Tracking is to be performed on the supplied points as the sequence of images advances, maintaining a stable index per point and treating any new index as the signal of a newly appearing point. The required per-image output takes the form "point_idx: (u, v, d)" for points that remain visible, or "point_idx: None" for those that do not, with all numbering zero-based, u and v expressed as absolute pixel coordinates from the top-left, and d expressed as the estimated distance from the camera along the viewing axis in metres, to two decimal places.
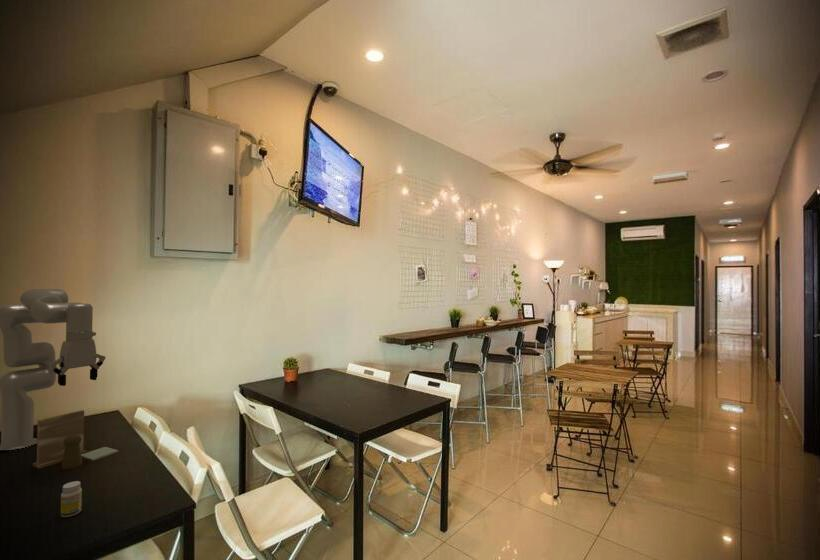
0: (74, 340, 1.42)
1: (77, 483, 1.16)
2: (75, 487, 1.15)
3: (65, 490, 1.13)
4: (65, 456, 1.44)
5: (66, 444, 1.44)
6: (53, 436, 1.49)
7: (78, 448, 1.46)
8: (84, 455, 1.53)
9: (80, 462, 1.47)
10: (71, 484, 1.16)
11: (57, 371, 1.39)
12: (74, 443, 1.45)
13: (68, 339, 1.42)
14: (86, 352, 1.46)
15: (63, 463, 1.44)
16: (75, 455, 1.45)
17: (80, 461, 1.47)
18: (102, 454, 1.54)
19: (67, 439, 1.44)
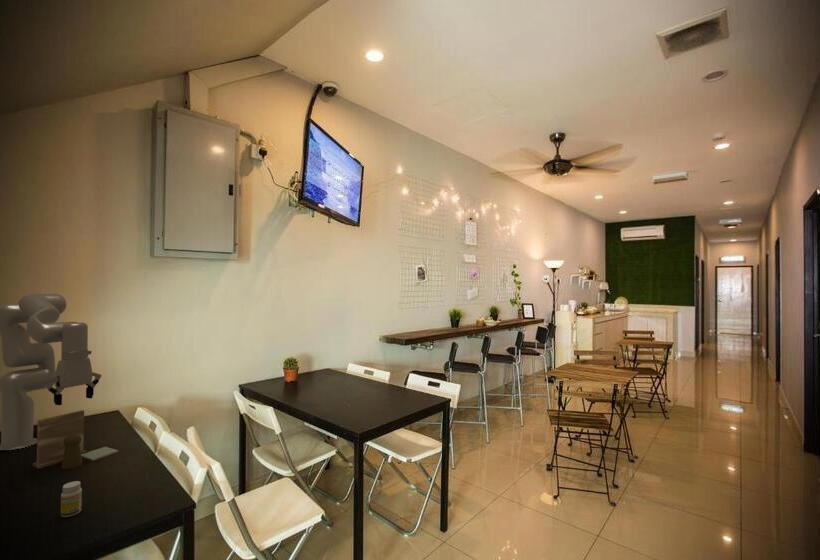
0: (69, 359, 1.43)
1: (77, 483, 1.16)
2: (75, 487, 1.15)
3: (65, 490, 1.13)
4: (65, 456, 1.44)
5: (66, 444, 1.44)
6: (53, 436, 1.49)
7: (78, 448, 1.46)
8: (84, 455, 1.53)
9: (80, 462, 1.47)
10: (71, 484, 1.16)
11: (53, 391, 1.40)
12: (74, 443, 1.45)
13: (63, 358, 1.43)
14: (82, 371, 1.47)
15: (63, 463, 1.44)
16: (75, 454, 1.45)
17: (80, 461, 1.47)
18: (102, 454, 1.54)
19: (67, 439, 1.44)
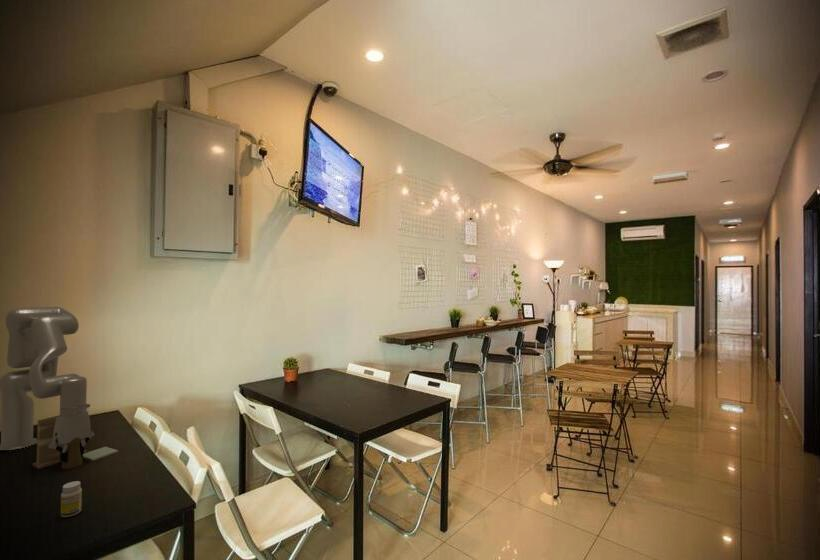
0: (68, 416, 1.43)
1: (77, 483, 1.16)
2: (75, 487, 1.15)
3: (65, 490, 1.13)
4: None
5: None
6: None
7: (78, 448, 1.46)
8: (84, 455, 1.53)
9: (80, 462, 1.47)
10: (71, 484, 1.16)
11: (59, 449, 1.42)
12: (74, 443, 1.45)
13: (62, 415, 1.43)
14: (80, 426, 1.47)
15: (63, 463, 1.44)
16: (75, 454, 1.45)
17: (80, 461, 1.47)
18: (102, 454, 1.54)
19: None
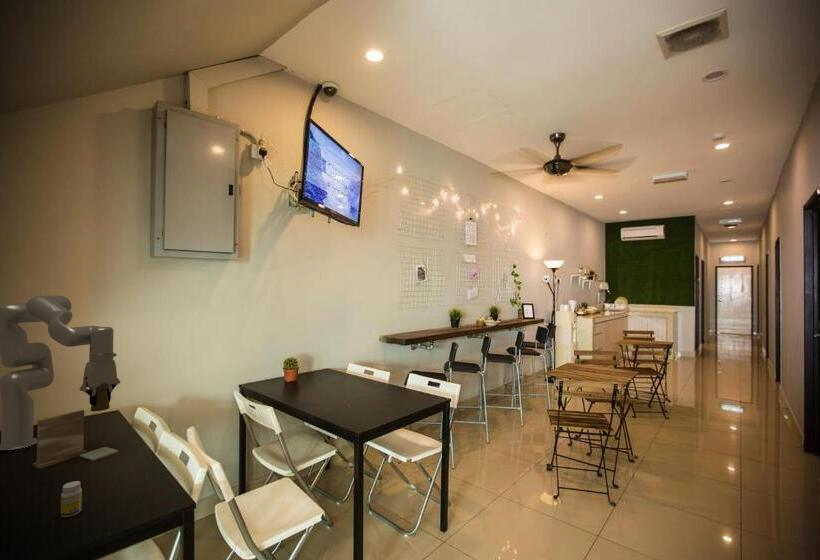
0: (97, 361, 1.53)
1: (77, 483, 1.16)
2: (75, 487, 1.15)
3: (65, 490, 1.13)
4: None
5: None
6: (53, 436, 1.49)
7: (106, 393, 1.57)
8: (84, 455, 1.53)
9: (108, 406, 1.57)
10: (71, 484, 1.16)
11: (89, 392, 1.52)
12: (102, 388, 1.55)
13: (91, 361, 1.53)
14: (107, 372, 1.57)
15: (92, 406, 1.54)
16: (103, 398, 1.55)
17: (108, 405, 1.57)
18: (102, 454, 1.54)
19: None
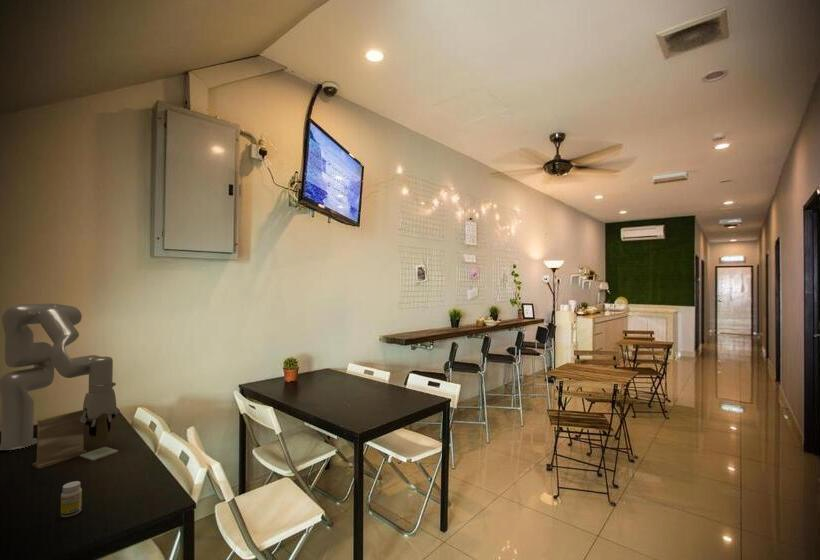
0: (96, 392, 1.53)
1: (77, 483, 1.16)
2: (75, 487, 1.15)
3: (65, 490, 1.13)
4: None
5: None
6: (53, 436, 1.49)
7: (105, 423, 1.56)
8: (84, 455, 1.53)
9: (107, 436, 1.57)
10: (71, 484, 1.16)
11: (88, 423, 1.52)
12: (102, 418, 1.55)
13: (91, 392, 1.53)
14: (107, 402, 1.57)
15: (92, 437, 1.54)
16: (103, 429, 1.55)
17: (107, 435, 1.57)
18: (102, 454, 1.54)
19: None
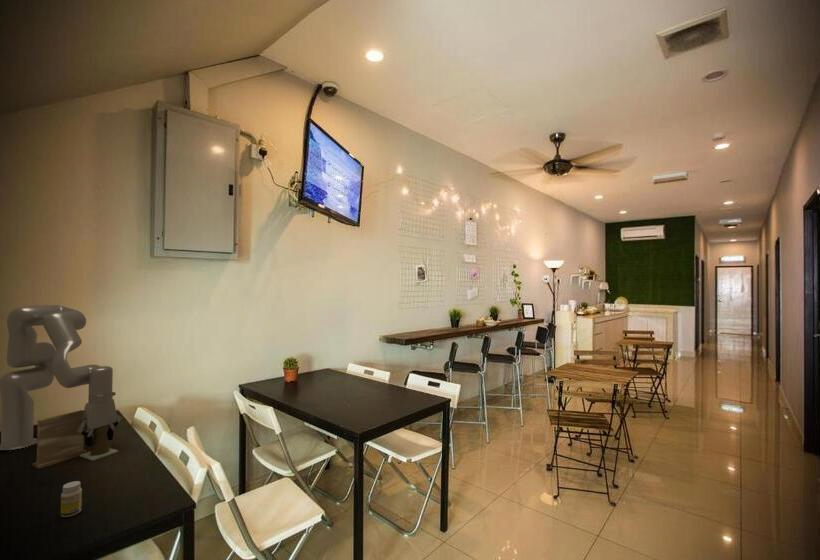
0: (96, 402, 1.53)
1: (77, 483, 1.16)
2: (75, 487, 1.15)
3: (65, 490, 1.13)
4: (94, 443, 1.54)
5: (95, 432, 1.54)
6: (53, 436, 1.49)
7: (106, 436, 1.57)
8: (84, 455, 1.53)
9: (107, 449, 1.57)
10: (71, 484, 1.16)
11: (85, 434, 1.51)
12: (102, 431, 1.55)
13: (90, 402, 1.53)
14: (107, 412, 1.57)
15: (92, 450, 1.54)
16: (103, 442, 1.55)
17: (107, 448, 1.57)
18: (102, 454, 1.54)
19: None
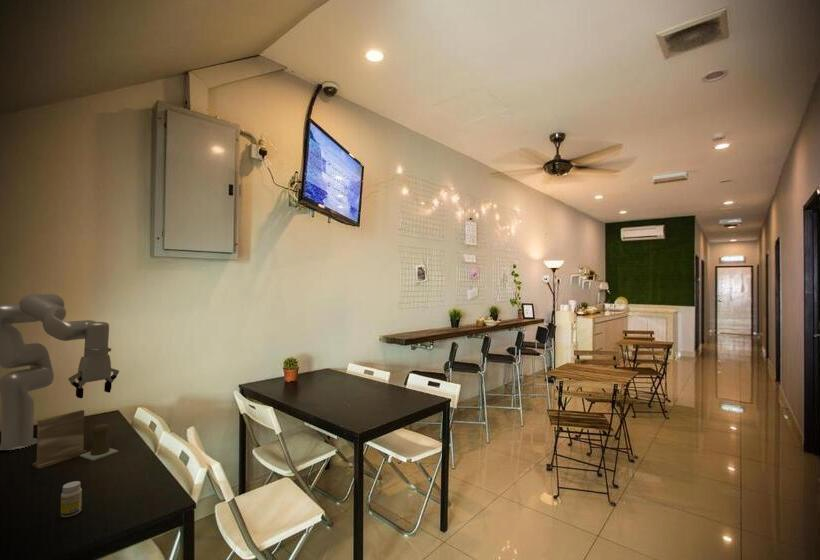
0: (92, 356, 1.55)
1: (77, 483, 1.16)
2: (75, 487, 1.15)
3: (65, 490, 1.13)
4: (94, 443, 1.54)
5: (95, 432, 1.54)
6: (53, 436, 1.49)
7: (106, 436, 1.57)
8: (84, 455, 1.53)
9: (107, 449, 1.57)
10: (71, 484, 1.16)
11: (75, 385, 1.52)
12: (102, 431, 1.55)
13: (86, 355, 1.55)
14: (102, 367, 1.58)
15: (92, 450, 1.54)
16: (103, 442, 1.55)
17: (107, 448, 1.57)
18: (102, 454, 1.54)
19: (96, 427, 1.54)
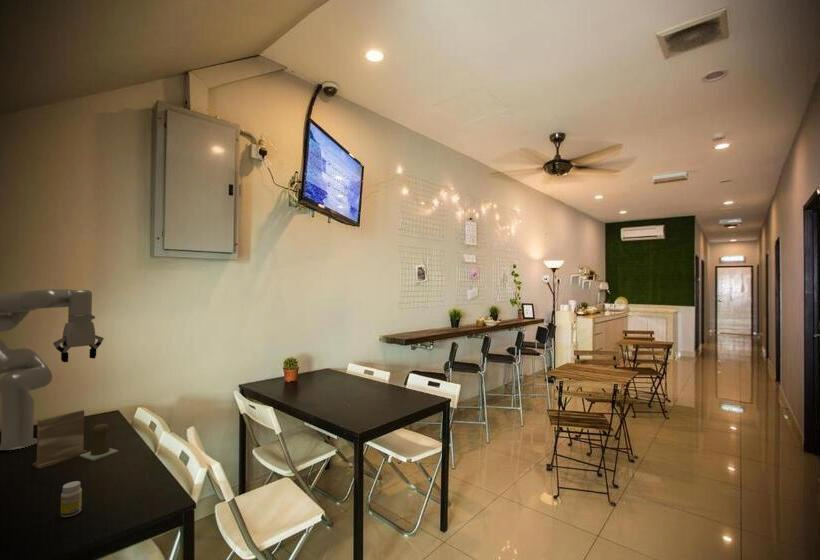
0: (75, 322, 1.60)
1: (77, 483, 1.16)
2: (75, 487, 1.15)
3: (65, 490, 1.13)
4: (94, 443, 1.54)
5: (95, 432, 1.54)
6: (53, 436, 1.49)
7: (106, 436, 1.57)
8: (84, 455, 1.53)
9: (107, 449, 1.57)
10: (71, 484, 1.16)
11: (60, 349, 1.57)
12: (102, 431, 1.55)
13: (70, 321, 1.60)
14: (86, 333, 1.64)
15: (92, 450, 1.54)
16: (103, 442, 1.55)
17: (107, 448, 1.57)
18: (102, 454, 1.54)
19: (96, 427, 1.54)
